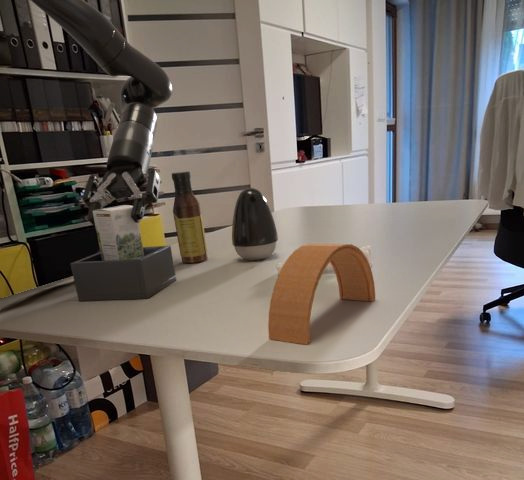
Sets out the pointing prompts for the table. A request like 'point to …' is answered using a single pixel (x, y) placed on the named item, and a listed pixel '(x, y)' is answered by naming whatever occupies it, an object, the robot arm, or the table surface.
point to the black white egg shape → (253, 226)
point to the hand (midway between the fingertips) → (113, 221)
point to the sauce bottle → (188, 220)
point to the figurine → (365, 250)
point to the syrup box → (118, 233)
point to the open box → (124, 275)
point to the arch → (315, 286)
